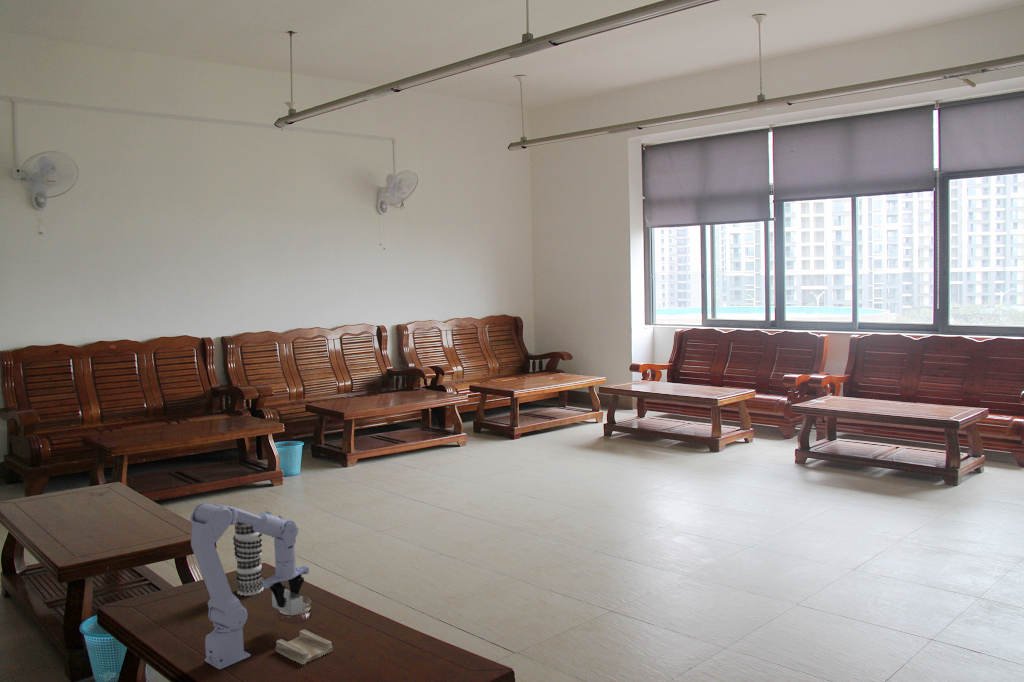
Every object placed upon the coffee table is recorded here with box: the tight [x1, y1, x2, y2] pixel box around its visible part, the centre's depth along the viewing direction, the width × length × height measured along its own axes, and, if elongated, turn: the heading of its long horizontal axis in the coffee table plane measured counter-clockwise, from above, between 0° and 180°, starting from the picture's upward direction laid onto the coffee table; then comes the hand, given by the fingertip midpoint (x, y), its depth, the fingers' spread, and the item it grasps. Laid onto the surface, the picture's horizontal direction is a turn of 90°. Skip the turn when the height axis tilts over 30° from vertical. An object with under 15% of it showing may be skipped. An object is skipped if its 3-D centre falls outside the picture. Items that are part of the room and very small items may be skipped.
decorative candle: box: [232, 521, 265, 597], centre depth 261 cm, size 9×9×25 cm
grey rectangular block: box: [271, 588, 304, 616], centre depth 231 cm, size 4×10×4 cm, turn 49°
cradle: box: [274, 628, 334, 666], centre depth 218 cm, size 10×13×3 cm
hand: (287, 604), depth 231 cm, fingers closed on grey rectangular block, 4 cm apart
